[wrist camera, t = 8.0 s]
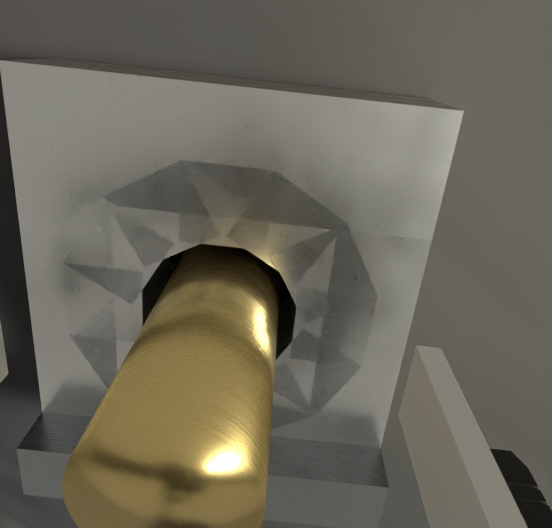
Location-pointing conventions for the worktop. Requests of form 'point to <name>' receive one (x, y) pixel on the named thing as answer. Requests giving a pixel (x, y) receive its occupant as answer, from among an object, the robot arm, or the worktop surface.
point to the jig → (233, 233)
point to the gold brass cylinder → (187, 405)
